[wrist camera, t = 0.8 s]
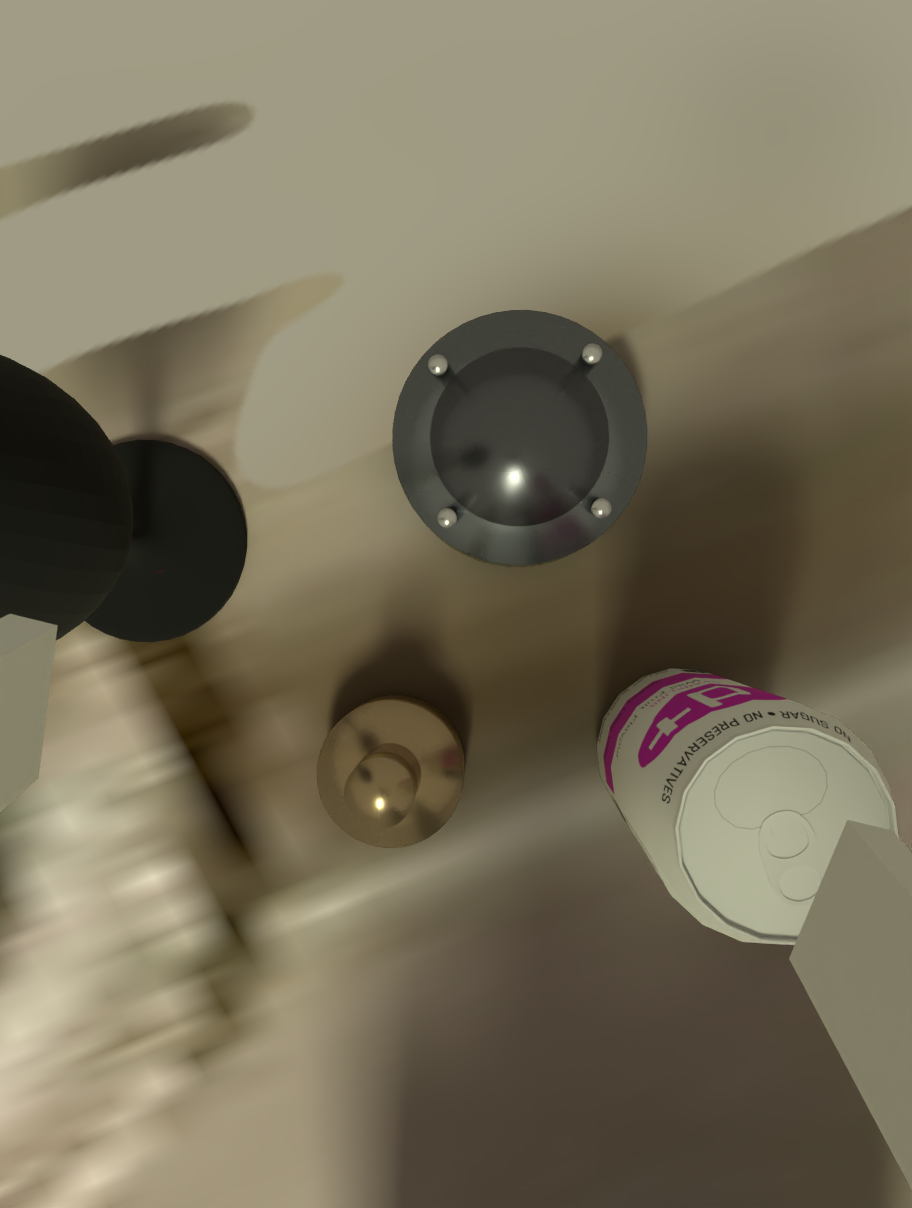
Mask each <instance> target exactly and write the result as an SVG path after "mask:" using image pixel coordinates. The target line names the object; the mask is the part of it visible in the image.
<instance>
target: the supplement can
mask: <svg viewBox="0 0 912 1208" xmlns="http://www.w3.org/2000/svg"><path fill="white" fill-rule="evenodd" d="M597 756H598V764H599V772H600V777H601V779H602V781H603V783H604V785H605V787H606V788H607V790H608V792H609V794H610V796H611V798H612V800H613V802H614V804H615V805H616V807H617V809H618V810H619V812H620V813H621V815H622V817H623V818H624V820H625V822H626V823H627V825H628V826H629V828H630V830H631V831H632V833H633V835H634V836H635V838H636V839H637V841H638V843H639V844H640V846H641V848H642V849H643V851H644V852H645V854H646V856H647V857H648V859H649V861H650V862H651V864H652V865H653V867H654V869H655V870H656V872H657V874H658V875H659V877H660V878H661V880H662V882H663V883H664V885H665V887H666V888H667V890H668V891H669V893H670V895H671V896H672V897H673V898H674V899H675V900H676V901H678V902H679V903H680V904H681V905H682V906H683V907H684V908H685V909H686V910H687V911H688V912H689V913H690V914H691V915H693V916H694V917H695V918H696V919H697V920H698V921H699V922H700V923H701V924H702V925H704V926H707V927H709V928H711V929H714V930H716V931H718V932H720V933H723V934H725V935H727V936H730V937H732V938H734V939H737V940H739V941H741V942H752V943H767V944H782V945H786V944H787V945H795V943H796V941H797V938H798V936H799V934H800V931H801V929H802V926H803V924H804V922H805V919H806V917H807V915H808V912H809V910H810V907H811V905H812V903H813V900H814V898H815V895H816V893H817V891H818V888H819V886H820V884H821V881H822V879H823V876H824V874H825V872H826V869H827V867H828V865H829V862H830V860H831V857H832V855H833V853H834V850H835V848H836V845H837V843H838V841H839V838H840V836H841V834H842V831H843V829H844V826H845V824H846V822H847V820H851V821H855V822H859V823H863V824H868V825H872V826H876V827H880V828H884V829H888V830H892V831H893V832H894V833H895V834H896V835H897V836H898V828H897V820H896V812H895V804H894V802H893V800H892V797H891V789H890V786H889V784H888V782H887V780H886V778H885V776H884V774H883V772H882V771H881V769H880V767H879V765H878V763H877V761H876V759H875V757H874V755H873V753H872V751H871V749H870V748H869V747H868V746H866V745H865V744H864V743H863V742H862V741H861V740H860V739H859V738H858V737H857V736H856V735H855V734H853V733H852V732H851V731H850V730H849V729H848V728H847V727H846V726H845V725H844V724H843V723H841V722H840V721H839V720H838V719H836V718H833V717H831V716H828V715H826V714H824V713H821V712H819V711H817V710H814V709H812V708H809V707H807V706H805V705H802V704H800V703H797V702H794V701H791V700H788V699H785V698H782V697H779V696H776V695H773V694H770V693H767V692H764V691H762V690H759V689H756V688H753V687H750V686H747V685H744V684H741V683H738V682H735V681H732V680H729V679H726V678H723V677H720V676H717V675H714V674H711V673H708V672H705V671H702V670H692V669H674V668H670V669H667V670H663V671H660V672H657V673H653V674H650V675H647V676H644V677H642V678H640V679H639V680H638V681H636V682H635V683H633V684H632V685H631V686H629V687H628V688H627V689H625V690H624V691H623V692H621V693H620V694H619V695H618V697H617V698H616V700H615V701H614V703H613V704H612V706H611V707H610V709H609V710H608V712H607V713H606V715H605V716H604V718H603V721H602V725H601V729H600V734H599V738H598V742H597ZM898 838H899V836H898Z"/></svg>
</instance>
